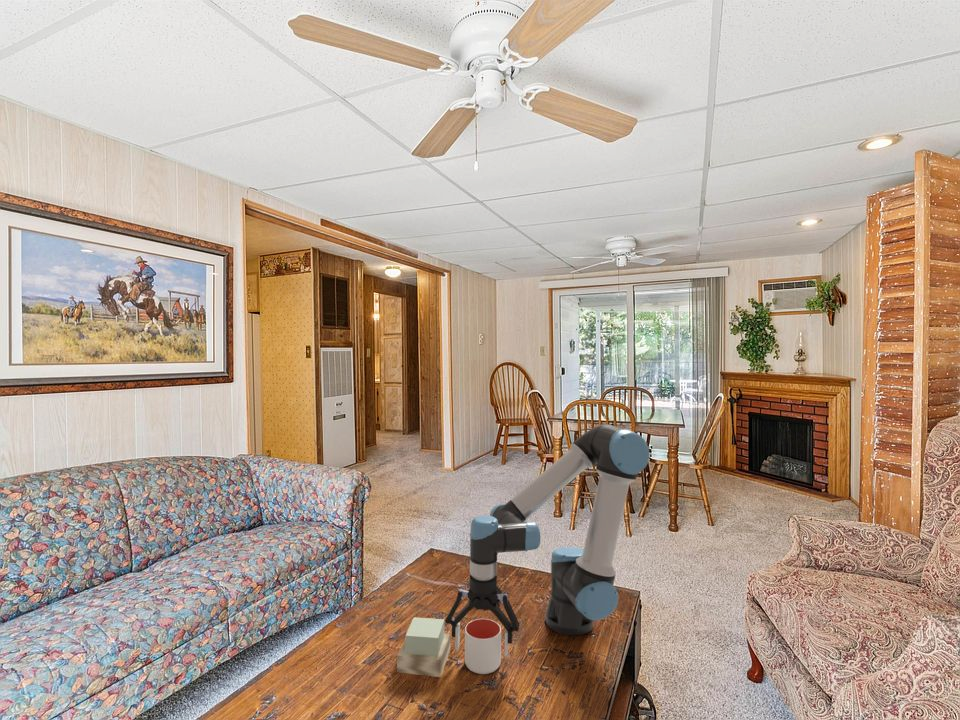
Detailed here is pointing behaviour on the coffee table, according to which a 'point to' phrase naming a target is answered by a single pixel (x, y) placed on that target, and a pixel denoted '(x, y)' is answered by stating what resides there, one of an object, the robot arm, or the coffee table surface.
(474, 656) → the cup
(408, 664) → the tower base
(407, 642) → the tower top
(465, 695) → the coffee table surface
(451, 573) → the coffee table surface
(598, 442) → the robot arm
